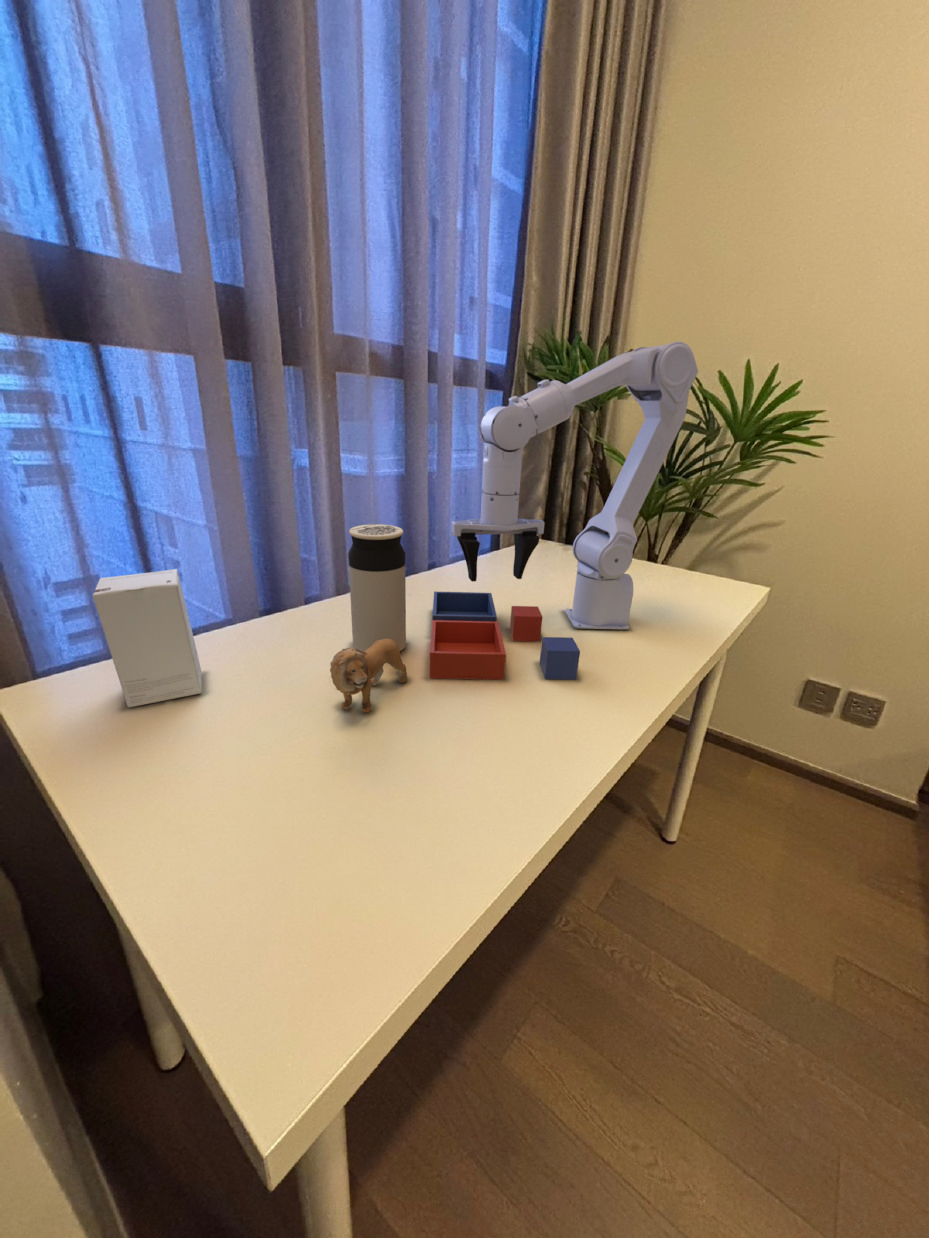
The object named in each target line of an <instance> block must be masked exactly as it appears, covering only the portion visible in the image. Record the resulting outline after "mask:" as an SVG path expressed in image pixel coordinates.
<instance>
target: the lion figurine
mask: <svg viewBox="0 0 929 1238" xmlns="http://www.w3.org/2000/svg"><path fill="white" fill-rule="evenodd" d="M329 664H330V669H329V672H330V678H331V681H332V684H333V685H334V686H335V688H336V690H337V691H339V692H340V693H341V694H342V695H343V698H344V701H342V702H341V705H340V707H341V709H342V710H346V711H347V710H349V709H350V708H351V707H352V706H353V696H354V695H357V694H359V693H360V692H361V698H362V699H361V708H360V709H361V712H362V713H370V712H372V710H373V709H372V702H371V693H372V692H371V691H372V687H374V686H377V685H378V684H379V683H380V681H381V678H382V676H383V675H384V672H385V671H384V666H385V665H386V664H387V665H389V666H391V667H392V668H393V669H394V670H395V671H399V672H400V675H399V676H398V677H397V681H398V682H399V683H406V682H407V681H408V674H407V666H406V664H405V663H404V662H403V660H402V657H401V651H399V647H398V645H397V643H396V642H395V641H394V640H392V639H382V640H377V641H376V642H374V643H373V644H372V645H371V646H370V647H369V648H368V649H367V650H365V651H364V652H361V651H359V650H358V649H354V648H352V647H347V648H342V649H341V650H340V651H339V650H338V652H337V653H336V654H334V655H333V658H332V660H331V661H330V663H329Z"/></svg>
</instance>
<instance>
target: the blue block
mask: <svg viewBox="0 0 929 1238" xmlns="http://www.w3.org/2000/svg"><path fill="white" fill-rule="evenodd" d="M539 655H540V656H539V666H540V670H541V672H542V675H543V677H544V679H545V680H577V676H578V670H579V664H580V663H579V662H580V656H581V650H580V649H579V647H578V644H577V642H576V641H575V639H574V637H564V636H562V637H561V636H542V637H541V647H540V654H539Z"/></svg>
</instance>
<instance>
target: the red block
mask: <svg viewBox="0 0 929 1238" xmlns="http://www.w3.org/2000/svg"><path fill="white" fill-rule="evenodd" d="M509 621H510V622H509V633H510V636H511V640H512V642H536V643H540V642H541V636H542V628H543V627H542V626H543V614H542V612H541V610H540V607H539V606H535V605H534V606H533V605H531V606H530V605H511V609H510V620H509Z"/></svg>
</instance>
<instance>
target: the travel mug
mask: <svg viewBox="0 0 929 1238" xmlns="http://www.w3.org/2000/svg"><path fill="white" fill-rule="evenodd" d="M348 534H349V535H350V536H351V543H352V545H351V546H350V549H349V551H348V553H347V556H348V558H347V559H348V576H349V592H350V593H349V596H350V597H349V598H350V613H351V614H350V615H351V633H352V647H353V649H358V650H359V651H361V652H364V651H365V650H367V649H368V648H369V647H370V646H371V645H372V644H373V643H374V642H376V641H377V640H382V639H392V640H394V641H395V642H396V643H397V645H398V647H399V651H400V652H401V651H403V650H404V649H405V647H406V645H407V613H406V611H407V606H406V605H407V603H406V602H407V601H406V600H407V599H406V598H407V597H406V596H407V595H406V594H407V593H406V592H407V591H406V586H407V585H406V551H405V549H404V547H403V546H402V543H401V541H402V536H403V534H404V529H402V527H399V526H395V525H393V524H381V523H379V524H378V523H375V524H373V523H371V524H361V525H356V526H353V527H351V528H350V529H349V530H348Z"/></svg>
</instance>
